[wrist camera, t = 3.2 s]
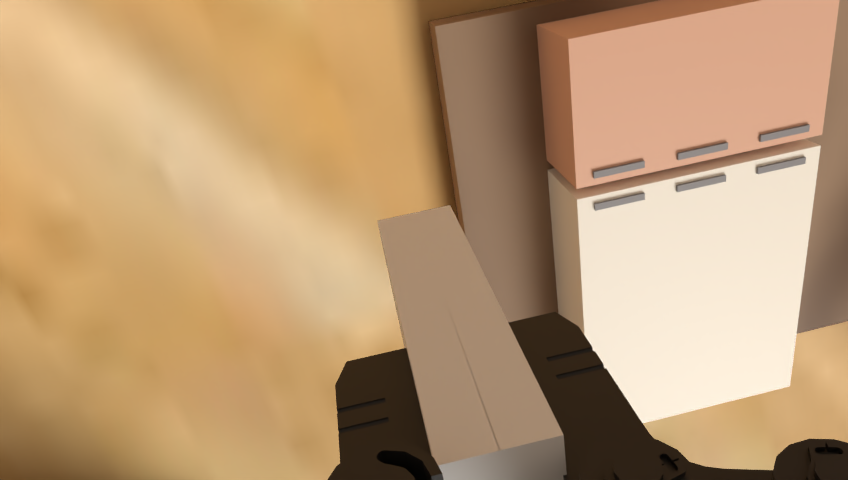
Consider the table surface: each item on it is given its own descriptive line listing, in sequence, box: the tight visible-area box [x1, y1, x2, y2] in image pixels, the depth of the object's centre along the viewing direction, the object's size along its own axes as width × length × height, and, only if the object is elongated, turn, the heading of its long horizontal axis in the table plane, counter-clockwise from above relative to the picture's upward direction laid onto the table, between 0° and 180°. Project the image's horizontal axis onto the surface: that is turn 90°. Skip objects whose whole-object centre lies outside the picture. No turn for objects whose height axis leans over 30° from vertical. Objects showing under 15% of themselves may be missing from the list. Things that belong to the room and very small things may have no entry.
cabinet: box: [536, 0, 840, 189], centre depth 23 cm, size 9×5×3 cm, turn 99°
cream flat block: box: [548, 139, 821, 423], centre depth 27 cm, size 9×11×3 cm
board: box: [429, 0, 848, 333], centre depth 27 cm, size 22×17×3 cm
